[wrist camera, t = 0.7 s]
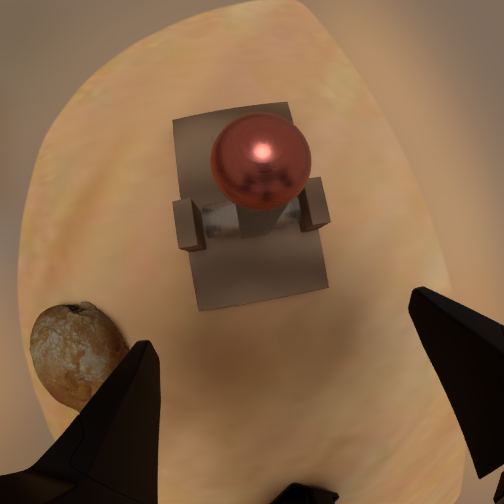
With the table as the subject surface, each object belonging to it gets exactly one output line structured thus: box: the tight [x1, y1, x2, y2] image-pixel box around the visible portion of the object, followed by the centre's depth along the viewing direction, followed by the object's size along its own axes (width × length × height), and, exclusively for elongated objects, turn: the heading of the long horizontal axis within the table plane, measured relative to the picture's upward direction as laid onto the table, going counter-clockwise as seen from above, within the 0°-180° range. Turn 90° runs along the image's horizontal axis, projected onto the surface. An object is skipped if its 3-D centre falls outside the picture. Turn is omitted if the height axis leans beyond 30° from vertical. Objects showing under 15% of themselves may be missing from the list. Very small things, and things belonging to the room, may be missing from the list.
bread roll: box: [30, 302, 128, 413], centre depth 20 cm, size 10×10×8 cm
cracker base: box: [172, 102, 331, 311], centre depth 20 cm, size 16×10×6 cm, turn 10°
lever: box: [202, 112, 311, 239], centre depth 13 cm, size 6×6×13 cm
